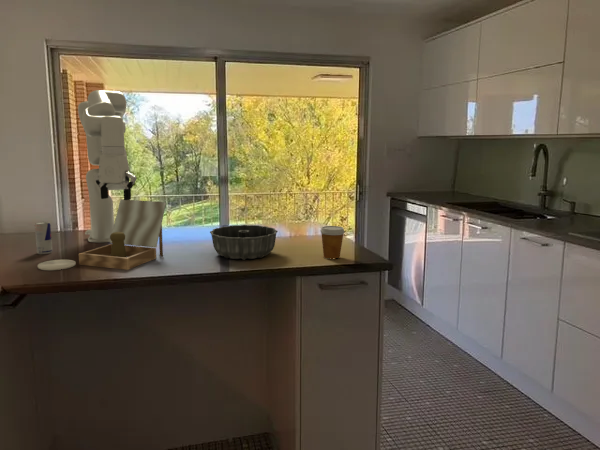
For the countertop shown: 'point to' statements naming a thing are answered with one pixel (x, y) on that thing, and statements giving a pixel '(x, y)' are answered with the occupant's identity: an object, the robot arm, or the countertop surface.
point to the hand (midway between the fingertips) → (116, 199)
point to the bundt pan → (244, 241)
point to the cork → (118, 244)
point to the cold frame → (131, 236)
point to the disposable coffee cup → (332, 241)
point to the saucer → (56, 264)
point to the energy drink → (43, 237)
